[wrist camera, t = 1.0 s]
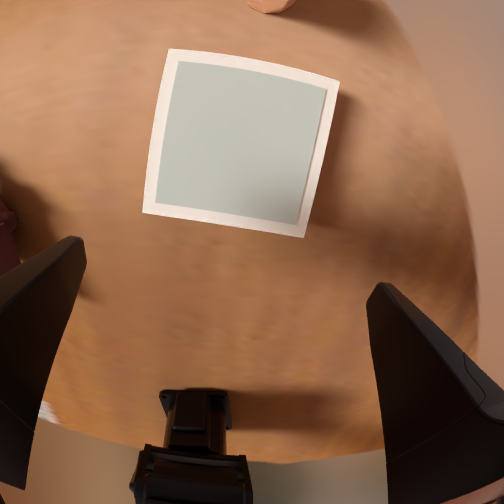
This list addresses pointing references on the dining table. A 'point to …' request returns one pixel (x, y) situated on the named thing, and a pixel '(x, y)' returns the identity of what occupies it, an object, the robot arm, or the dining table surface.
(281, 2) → the milkshake
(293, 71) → the tile base
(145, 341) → the dining table surface
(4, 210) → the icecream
